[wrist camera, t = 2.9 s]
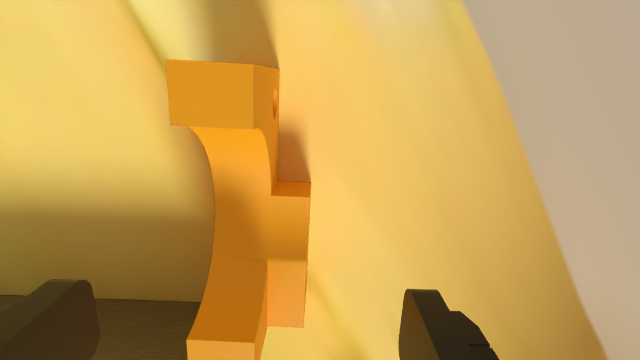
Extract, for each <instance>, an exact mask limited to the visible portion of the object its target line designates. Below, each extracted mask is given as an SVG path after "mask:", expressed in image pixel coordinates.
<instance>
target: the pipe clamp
mask: <svg viewBox="0 0 640 360" xmlns="http://www.w3.org/2000/svg"><path fill="white" fill-rule="evenodd" d="M166 71H167V85H168V98H169V112H170V125H176V126H187V127H189V128H190V129H192V130H193V131H194V132H195V133H196V135H197V136H198V137H199V139H200V140H201V142H202V144H203V146H204V148H205V150H206V153H207V156H208V159H209V163H210V167H211V171H212V177H213V184H214V195H215V230H214V242H213V251H212V258H211V264H210V269H209V275H208V279H207V284H206V288H205V291H204V295H203V298H202V302H201V305H200V308H199V311H198V314H197V316H196V319H195V322H194V324H193V326H192V329H191V331H190V333H189V335H188V337H187V339H186V342H187V356H188V360H260V356H261V352H262V348H263V343H264V339H265V334H266V330H267V326H274V327H294V328H303V325H304V312H305V299H306V285H307V263H308V242H309V220H310V199H311V183H307V182H288V181H278V128H279V69H275V68H270V67H265V66H260V65H255V64H242V63H224V62H205V61H187V60H168V59H166Z"/></svg>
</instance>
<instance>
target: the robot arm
mask: <svg viewBox="0 0 640 360" xmlns="http://www.w3.org/2000/svg"><path fill="white" fill-rule="evenodd" d="M99 339H100V328H99V323H98V317H97V312H96V307H95V302H94V296H93V291H92V287H91V285H90V283H89V282H88V281H86V280H65V279H53V280H50V281H48V282H46V283H45V284H43V285H42V286H41V287H39V288H38V289H37V290H35V291H34V292H33V293H32V294H30V295H29V296H28V297H26V298H25V299H24V300H22V301H20V302H18V303H16V304H14V305H12V306H10V307H8V308H7V309H5V310H3V311H1V312H0V360H90V359H91V358H92V357H93V355H94V353H95V351H96V349H97V347H98V343H99ZM399 357H400V360H499V359H498V357H497V355H496V354H495V352H494V351H493V349H492V348H490V344H489V343H488V341H487V340H486V338H485V337H484V335H483V333H482V332H481V330H480V329H479V327H478V326H477V325H476V324H475V323H473V322H472V321H471V320H470V319H469V318H467V317H466V316H465V315H464V314H463V313H462V312H460V311H449V309H448V307H447V305H446V304H445V302H444V300H443V298H442V296H441V295H440V293H439V292H438V291H437V290H424V289H407V290H406V291H405V294H404V301H403V309H402V317H401V325H400V333H399Z"/></svg>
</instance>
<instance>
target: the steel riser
mask: <svg viewBox="0 0 640 360" xmlns="http://www.w3.org/2000/svg"><path fill="white" fill-rule="evenodd" d="M26 297H28V296H10V295H0V312H1V311H3V310H5V309H7V308H8V307H10V306H12V305H14V304H16V303H18V302H20V301H22V300H24V299H25V298H26ZM94 302H95V307H96V312H97V317H98V323H99V328H100V339H99V343H98V347H97V349H96V351H95V353H94V355H93V357H92V358H91V359H90V360H188V356H187V342H186V339H187V337H188V335H189V333H190V331H191V329H192V326H193V324H194V322H195V319H196V316H197V314H198V311H199V308H200V305H201V303H194V302H168V301H141V300H115V299H94Z"/></svg>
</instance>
